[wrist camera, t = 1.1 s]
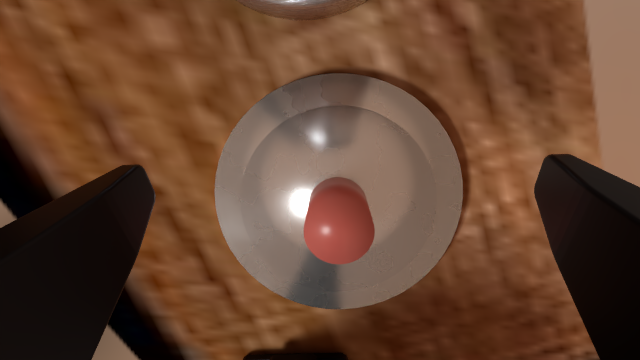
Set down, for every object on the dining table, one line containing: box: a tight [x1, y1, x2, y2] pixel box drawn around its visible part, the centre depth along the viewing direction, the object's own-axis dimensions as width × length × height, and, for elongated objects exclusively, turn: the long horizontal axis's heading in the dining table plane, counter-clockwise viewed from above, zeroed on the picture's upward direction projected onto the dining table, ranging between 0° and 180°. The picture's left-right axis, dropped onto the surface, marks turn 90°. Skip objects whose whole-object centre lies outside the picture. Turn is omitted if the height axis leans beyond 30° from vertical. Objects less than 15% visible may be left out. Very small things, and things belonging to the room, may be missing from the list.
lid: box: [215, 73, 463, 309], centre depth 18 cm, size 13×13×5 cm
